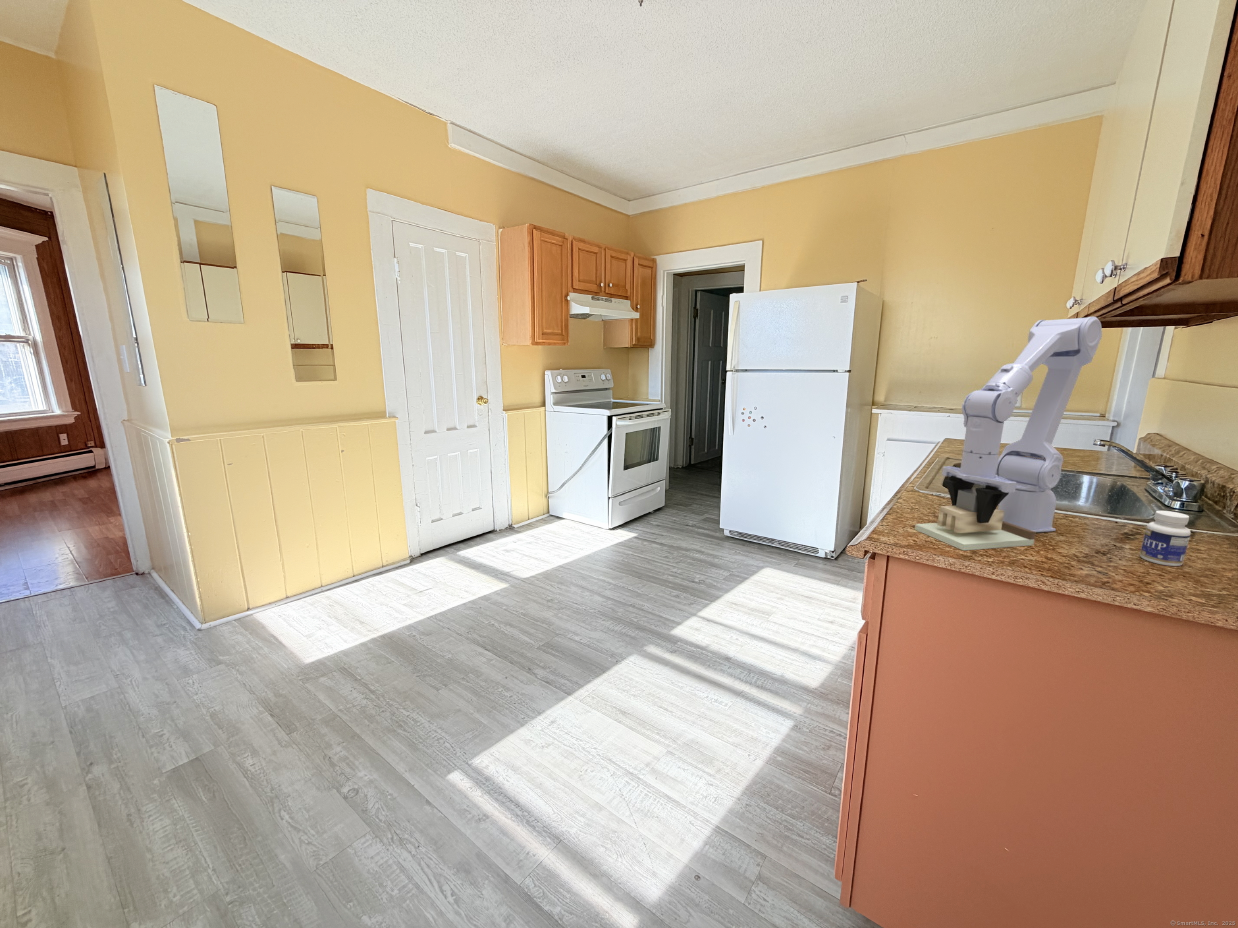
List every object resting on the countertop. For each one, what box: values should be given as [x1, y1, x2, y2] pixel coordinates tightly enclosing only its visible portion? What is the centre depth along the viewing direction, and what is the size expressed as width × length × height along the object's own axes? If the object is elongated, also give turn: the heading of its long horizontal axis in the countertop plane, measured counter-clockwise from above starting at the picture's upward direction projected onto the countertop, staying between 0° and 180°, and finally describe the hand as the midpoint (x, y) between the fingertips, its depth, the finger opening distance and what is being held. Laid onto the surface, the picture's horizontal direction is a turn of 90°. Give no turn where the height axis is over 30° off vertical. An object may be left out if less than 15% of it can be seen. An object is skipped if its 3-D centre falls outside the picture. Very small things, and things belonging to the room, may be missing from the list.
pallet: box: [937, 505, 1004, 533], centre depth 99 cm, size 10×5×4 cm, turn 101°
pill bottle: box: [1139, 510, 1191, 567], centre depth 87 cm, size 5×5×9 cm
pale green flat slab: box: [914, 521, 1037, 551], centre depth 99 cm, size 16×12×3 cm
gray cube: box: [956, 488, 978, 512], centre depth 98 cm, size 4×4×4 cm
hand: (970, 518), depth 99 cm, fingers closed on pallet, 5 cm apart
